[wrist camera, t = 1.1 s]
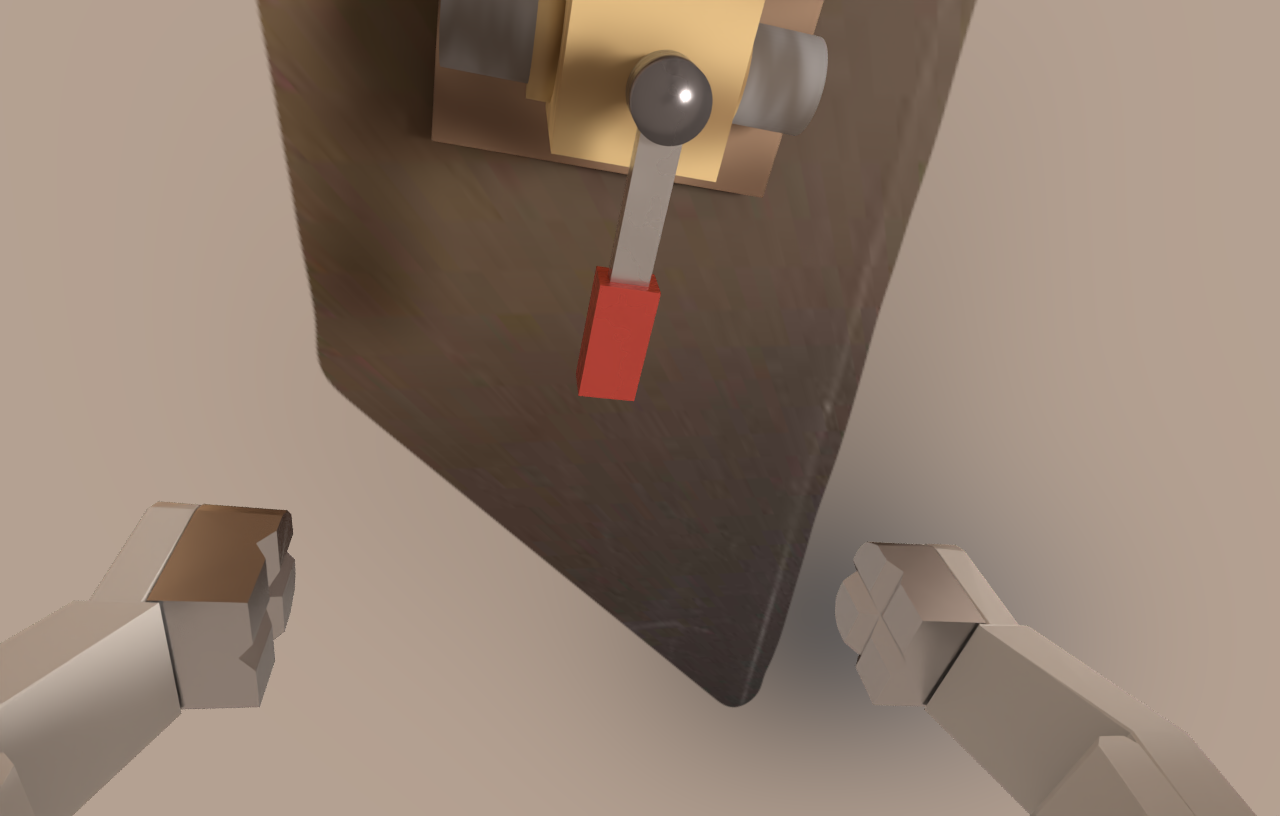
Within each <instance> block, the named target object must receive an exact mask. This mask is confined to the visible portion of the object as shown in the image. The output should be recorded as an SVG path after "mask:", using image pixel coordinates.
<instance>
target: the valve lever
mask: <svg viewBox="0 0 1280 816" xmlns="http://www.w3.org/2000/svg"><path fill="white" fill-rule="evenodd" d="M625 96H626V103H627V107H628V109H629V112H630V114H631V116H632V118H633V120H634V122H635V124H636V126H637V131H636V136H635V141H634V146H633V151H632V156H631V161H630V166H629V171H628V175H627V180H626V185H625V190H624V195H623V200H622V205H621V210H620V215H619V220H618V225H617V230H616V235H615V240H614V245H613V250H612V255H611V260H610V265H609V268H606V267H599V266H596V271H595V276H594V282H593V287H592V292H591V297H590V303H589V308H588V313H587V318H586V323H585V329H584V334H583V339H582V344H581V350H580V355H579V360H578V365H577V371H576V378H577V387H578V396H587V397H598V398H608V399H618V400H628V401H634V399H635V395H636V391H637V387H638V383H639V379H640V375H641V371H642V367H643V363H644V359H645V355H646V351H647V347H648V343H649V339H650V335H651V331H652V327H653V323H654V319H655V315H656V311H657V307H658V303H659V299H660V295H661V292H660V289H659V287H658V284H657V281H656V278H655V275H654V274H652V271H653V267H654V262H655V258H656V254H657V250H658V246H659V241H660V237H661V233H662V229H663V225H664V220H665V216H666V212H667V208H668V204H669V199H670V195H671V191H672V187H673V183H674V178H675V174H676V170H677V166H678V162H679V157H680V153H681V149H682V145H683V144H684V143H687V142H689V141H690V140H692V139H693V138H695V137H696V136H697V135H698V134H699V133H700V132H701V131H702V130H703V128H704V127H705V125H706V124H707V122H708V120H709V117H710V114H711V111H712V104H713V97H712V90H711V87H710V84H709V82H708V79H707V78H706V76H705V75H704V74H703V72H702V71H701V70H700V69H699V68H698V67H697V66H696V65H695V64H694V63H693V62H692V61H691V60H690V59H689V58H688V57H687V56H685V55H683V54H682V53H679V52H677V51H673V50H658V51H654V52H652V53H650V54H647V55H646V56H644V57H643V58H642V59H641V60H639V61H638V62H637V64H636V65H635V66H634V67H633V69H632V71H631V72H630V74H629V77H628V79H627V83H626V90H625Z"/></svg>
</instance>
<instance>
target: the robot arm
mask: <svg viewBox="0 0 1280 816" xmlns="http://www.w3.org/2000/svg"><path fill="white" fill-rule="evenodd" d="M292 535H293V528H292V517H291V514H290V513H289V512H288V511H287V510H275V509H262V508H249V507H236V506H223V505H210V504H203V505H198V504H185V503H173V502H160V501H158V502H157V503H155V504H154V505H152V506H151V507H149V508H148V509H147V510H146V512H145V513H144V515H143V516H142V518H141V519H140V521H139V523H138V524H137V526H136V527H135V529H134V531H133V532H132V534H131V535H130V537H129V538H128V540H127V542H126V543H125V545H124V546H123V548H122V549H121V551H120V553H119V554H118V556H117V557H116V559H115V560H114V562H113V564H112V565H111V567H110V569H109V570H108V571H107V573H106V574H105V576H104V578H103V579H102V581H101V582H100V584H99V585H98V587H97V589H96V590H95V592H94V593H93V595H92V597H91V598H90V600H89V601H72V602H71V603H69V604H67V605H66V606H64V607H62V608H60V609H59V610H57V611H55V612H54V613H52V614H50V615H48V616H47V617H45V618H44V619H41V620H40V621H38V622H36V623H35V624H33V625H31V626H29V627H28V628H26V629H24V630H23V631H21V632H19V633H17V634H16V635H14V636H12V637H11V638H9V639H7V640H5V641H4V642H2V643H0V816H72V815H74V814H75V813H76V812H77V811H78V810H79V809H80V808H81V807H82V806H83V805H84V804H85V803H86V802H87V801H89V800H90V799H91V798H92V797H93V796H94V795H95V794H96V793H97V792H98V791H99V790H100V789H101V788H102V787H103V786H104V785H106V784H107V783H108V782H109V781H110V780H111V779H112V778H113V777H114V776H115V775H116V774H117V773H118V772H120V770H122V768H124V767H125V766H126V765H127V764H128V763H129V762H130V761H131V760H132V759H133V758H134V757H136V755H137V754H139V753H140V752H141V751H142V750H143V749H144V748H145V747H146V746H147V745H148V744H149V743H150V742H151V741H153V740H154V739H155V738H156V737H157V736H158V735H159V734H160V733H161V732H162V731H163V730H164V729H165V728H167V727H168V726H169V725H170V724H171V723H172V722H173V721H174V720H175V719H176V718H177V717H178V716H179V715H180V714H181V709H205V708H241V707H242V708H243V707H260V704H261V701H262V698H263V695H264V692H265V689H266V686H267V683H268V680H269V677H270V674H271V671H272V668H273V665H274V662H275V654H274V642H273V640H274V639H276V638H277V637H278V636H280V635H281V634H282V633H283V632H284V631H285V628H286V625H287V622H288V619H289V615H290V612H291V606H292V600H293V595H294V590H295V559H294V558H293V557H292V556H291V555H290V554H289V553H288V552H287V550H288V547H289V544H290V541H291V538H292ZM853 562H854V565H855V567H856V570H857V571H856V572H855V573H853V574H852V575H851V576H849V577H848V578H846V579H845V580H844V581H843V582H842V584H841V586H840V589H839V591H838V594H837V596H836V606H835V607H836V608H835V617H836V621H837V626H838V629H839V632H840V634H841V636H842V639H843V641H844V642H845V643H846V644H847V645H848V646H849V647H851V648H852V649H853V650H854V651H855V652H856V653H858V654H859V656H858V660H857V663H856V669H857V671H858V673H859V675H860V677H861V680H862V682H863V684H864V686H865V688H866V690H867V692H868V694H869V697H870V699H871V701H872V703H873V705H887V706H889V705H890V706H925V709H924V710H926V712H927V713H928V714H930V715H931V716H932V718H934V719H935V721H937V722H938V723H939V724H940V725H941V726H942V727H943V728H944V729H945V730H946V731H947V732H948V733H949V734H950V735H951V736H952V737H953V738H954V739H955V740H956V741H957V742H958V743H959V744H960V745H961V746H962V747H963V748H964V749H965V750H966V751H967V752H968V753H969V754H970V755H971V756H972V757H973V758H974V759H975V760H976V761H977V762H978V763H979V764H980V765H981V766H982V767H983V768H984V769H985V770H986V771H987V772H988V773H989V774H990V775H991V776H992V777H993V778H994V779H995V780H996V781H997V782H998V783H999V784H1000V785H1001V786H1002V787H1003V788H1004V789H1005V790H1006V791H1007V792H1008V793H1009V794H1010V795H1011V796H1012V797H1013V798H1014V799H1015V800H1016V801H1017V802H1018V803H1019V804H1020V805H1021V806H1022V807H1023V808H1024V809H1025V810H1026V811H1027V812H1028V813H1029V814H1030V816H1256V815H1255V813H1254V812H1253V811H1252V810H1251V808H1250V807H1249V806H1248V805H1247V804H1246V803H1245V801H1244V800H1243V799H1242V798H1241V796H1240V795H1239V794H1238V793H1237V792H1236V791H1235V789H1234V788H1233V787H1232V786H1231V785H1230V783H1229V782H1228V781H1227V780H1226V779H1225V777H1224V776H1223V775H1222V774H1221V773H1220V771H1219V770H1218V769H1217V768H1216V767H1215V765H1214V764H1213V763H1212V762H1211V761H1210V759H1209V758H1208V757H1207V756H1206V755H1205V754H1204V752H1203V751H1202V750H1201V749H1200V748H1199V746H1198V745H1197V744H1196V743H1195V741H1194V740H1193V739H1192V738H1191V737H1190V735H1189V734H1188V733H1187V732H1185V731H1184V730H1182V729H1181V728H1179V727H1178V726H1176V725H1175V724H1173V723H1172V722H1170V721H1169V720H1167V719H1166V718H1164V717H1163V716H1161V715H1160V714H1158V713H1157V712H1156V711H1154V710H1153V709H1151V708H1149V707H1148V706H1147V705H1145V704H1143V703H1142V702H1140V701H1139V700H1137V699H1136V698H1135V697H1133V696H1132V695H1130V694H1129V693H1127V692H1126V691H1124V690H1123V689H1121V688H1120V687H1118V686H1117V685H1115V684H1114V683H1112V682H1111V681H1109V680H1108V679H1106V678H1105V677H1103V676H1102V675H1100V674H1099V673H1097V672H1096V671H1094V670H1093V669H1091V668H1090V667H1088V666H1087V665H1086V664H1084V663H1083V662H1081V661H1080V660H1078V659H1077V658H1075V657H1074V656H1072V655H1071V654H1069V653H1068V652H1066V651H1065V650H1063V649H1062V648H1060V647H1058V646H1057V645H1056V644H1054V643H1053V642H1051V641H1050V640H1048V639H1047V638H1045V637H1044V636H1042V635H1041V634H1039V633H1038V632H1036V631H1035V630H1033V629H1032V628H1030V627H1029V626H1026V625H1018V624H1017V622H1016V621H1015V619H1014V618H1013V617H1012V615H1011V614H1010V612H1009V611H1008V610H1007V609H1006V607H1005V606H1004V604H1003V603H1002V601H1001V600H1000V599H999V597H998V596H997V595H996V593H995V592H994V591H993V589H992V588H991V587H990V585H989V584H988V582H987V581H986V580H985V578H984V577H983V575H982V574H981V573H980V571H979V570H978V569H977V567H976V566H975V565H974V563H973V562H972V560H971V559H970V558H969V556H968V555H967V554H966V552H965V551H964V550H962V549H961V548H959V547H958V546H956V545H942V544H925V545H922V544H907V543H906V544H905V543H884V542H866V543H865V544H864V545H862V546H861V547H860V548H859V549H858V551H857V553H856V555H855V557H854V559H853Z"/></svg>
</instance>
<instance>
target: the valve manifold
mask: <svg viewBox="0 0 1280 816" xmlns="http://www.w3.org/2000/svg"><path fill="white" fill-rule="evenodd" d="M823 2H824V0H438V19H437V39H436V59H435V79H434V99H433V119H432V139H431V141H437V142H442V143H448V144H454V145H460V146H466V147H471V148H477V149H483V150H489V151H495V152H500V153H506V154H512V155H518V156H524V157H529V158H535V159H541V160H547V161H553V162H558V163H564V164H570V165H576V166H582V167H587V168H593V169H599V170H605V171H611V172H617V173H622V174H628V171H629V166H630V161H631V156H632V151H633V146H634V141H635V136H636V131H637V126H636V124H635V122H634V120H633V118H632V116H631V114H630V112H629V109H628V107H627V103H626V96H625V90H626V83H627V79H628V77H629V74H630V72H631V71H632V69H633V67H634V66H635V65H636V64H637V62H638V61H639V60H641V59H642V58H643V57H644V56H646V55H647V54H650V53H652V52H654V51H658V50H673V51H677V52H679V53H682V54H683V55H685V56H687V57H688V58H689V59H690V60H691V61H692V62H693V63H694V64H695V65H696V66H697V67H698V68H699V69H700V70H701V71H702V72H703V74H704V75H705V76H706V78H707V79H708V82H709V84H710V87H711V90H712V97H713V104H712V111H711V114H710V117H709V120H708V122H707V124H706V125H705V127H704V128H703V130H702V131H701V132H700V133H699V134H698V135H697V136H696V137H695V138H693V139H692V140H690V141H689V142H687V143H684V144H683V145H682V149H681V153H680V157H679V162H678V166H677V170H676V174H675V178H674V182H675V183H680V184H686V185H692V186H698V187H704V188H709V189H715V190H721V191H727V192H733V193H738V194H744V195H750V196H756V197H762V198H763V195H764V192H765V188H766V185H767V182H768V179H769V175H770V172H771V169H772V166H773V163H774V159H775V156H776V153H777V150H778V146H779V143H780V140H781V137H782V134H788V135H793V136H796V135H799V134H800V133H801V132H803V131H804V129H805V128H806V127H807V126H808V124H809V123H810V121H811V119H812V117H813V115H814V113H815V111H816V109H817V107H818V104H819V101H820V98H821V95H822V92H823V88H824V84H825V79H826V73H827V65H828V52H827V46H826V43H825V41H824V39H823V38H822V37H819V36H815V35H813V34H814V31H815V27H816V24H817V21H818V18H819V15H820V11H821V8H822V5H823Z"/></svg>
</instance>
